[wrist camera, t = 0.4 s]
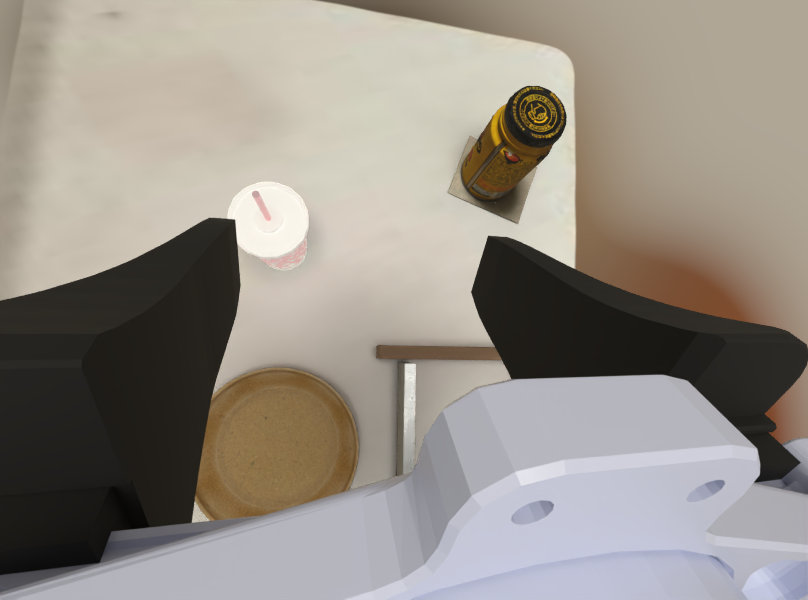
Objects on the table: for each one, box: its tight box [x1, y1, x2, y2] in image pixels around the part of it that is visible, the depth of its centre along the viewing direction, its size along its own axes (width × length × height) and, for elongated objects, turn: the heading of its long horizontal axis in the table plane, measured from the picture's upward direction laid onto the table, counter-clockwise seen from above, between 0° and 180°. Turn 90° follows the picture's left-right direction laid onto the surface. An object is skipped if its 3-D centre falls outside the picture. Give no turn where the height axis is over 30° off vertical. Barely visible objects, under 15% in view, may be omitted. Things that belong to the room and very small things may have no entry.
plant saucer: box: [195, 367, 359, 521], centre depth 37 cm, size 15×15×3 cm
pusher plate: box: [396, 362, 416, 477], centre depth 37 cm, size 16×1×4 cm, turn 179°
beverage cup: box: [228, 182, 309, 270], centre depth 33 cm, size 6×6×14 cm
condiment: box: [448, 86, 567, 223], centre depth 39 cm, size 7×8×12 cm
